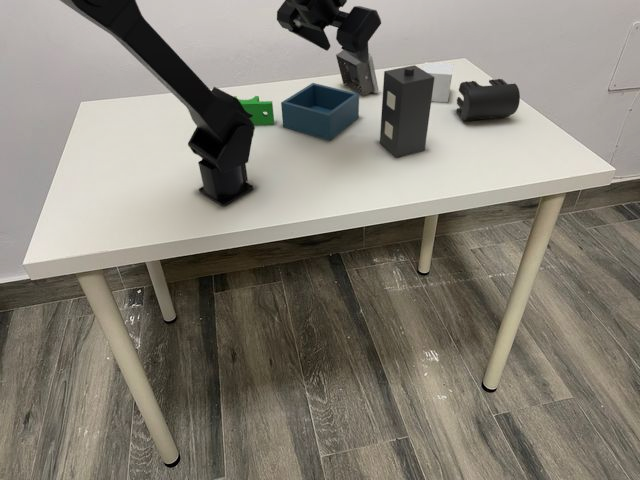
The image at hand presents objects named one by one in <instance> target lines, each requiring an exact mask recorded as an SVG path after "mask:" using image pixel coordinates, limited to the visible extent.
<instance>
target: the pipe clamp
mask: <svg viewBox="0 0 640 480" xmlns="http://www.w3.org/2000/svg"><path fill="white" fill-rule="evenodd" d="M232 96H233V97H235V98H237V99H238V100H239V102H240V103H241V105H242V106H243V108H244V109H245V111H246V112H248V113H250V114H252V115H253V117H251V118H249V119H250V120H251V121H252V122H253V124H254V126H274V125H275V115H274V114H275V113H274V105H273V104H274V103H273V101H272V100H269V101H268V100H265V101H263V100H262V101H261V100H260V96H259V95H254V96H253V97H252V98H250V99H240V98H238V96H237V95H232ZM265 113H267V114H265Z"/></svg>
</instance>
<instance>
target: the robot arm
mask: <svg viewBox="0 0 640 480" xmlns="http://www.w3.org/2000/svg"><path fill="white" fill-rule="evenodd" d="M59 1H60V2H61V3H63V4H64V5H65V6H67V7H69V8H70V9H71V10H73V11H74V12H75V13H77V14H79V15H80V16H82V17H83V18H85V19H86V20H88V21H89V22H91V23H92V24H94V25H96V26H97V27H99V28H100V29H101V30H103V31H104V32H106V33H108V34H109V35H111V36H112V37H113V38H114V39H115V40H116V41H117V42H118V43H119V44H120V45H121V46H123V47H124V49H126V50H127V51H128V52H129V53H130V54H131V55H132V56H133V57H134V58H135V59H136V60H137V61H138V62H139V63H140V64H141V65H142V66H143V67H144V68H145V69H146V70H147V71H148V72H150V74H152V75H153V77H155V78H156V79H157V81H159V82H160V83H161V84H162V85H163V86H164V87H165V88H166V89H167V90H168V91H170V92H171V94H172V95H173V96H174V97H175V98H176V99H178V101H180V103H181V104H183V106H184V107H186V109H187V110H188V113H189V115H190V117H191V120H192V122H193V123H194V124H195V126H196V127H195V129H194V131H193V133H192V135H191V137H190V139H189V141H188V142H187V146H188V147H189V149H190V150H191V152H192V153H193V154H195V155H197V156H198V157H200V158H201V160H199V161H198V163H197V164H198V167H199V172H200V177H201V181H202V187H199V188H198V192H199V194H201V195H203V196H205V197H207V198H208V199H210V200H211V201H213V202H215V203H217V204H218V205H220V206H222V207H226V206H227V205H229V204H231V203H232V202H235V201H237V200H238V199H239V198H241V197H243V196H244V195H246V194H248V193H249V192H251V191H253V190H254V185H253V184H251V183H249V182H248V181H249V178H248V171H247V163H249V160H250V153H251V148H252V143H253V137H254V133H255V130H256V127H255V125H254V124H253V122H252V121H251V120H250V119H249V118H251V117H253V115H252V114H250V113H248V112H246V111H245V109H244V108H243V106H242V105H241V103H240V102H239V100H238V99H239V98H238V97H237V98H238V99H237V98H235V97H233V96H234V95H232V94H229V93H228V92H226V91H224V90H221V89H220V88H218V87H216V86H213V87H212V89H210V88H209V87H208V86H207V85H206V83H205V82H204V81H203V80H202V79H201V78H200V77H199V76H198V75H197V74H196V72H194V70H192V68H191V67H190V66H189V65H188V64H187V63H186V62H185V61H184V60H183V59H182V58H181V57H180V56H179V54H177V52H176V51H175V50H174V49H173V48H172V46H170V45H169V44H168V43H167V41H166V40H165V39H164V38H163V37H162V36H161V35H160V34H159V33H158V32H157V30H156V29H154V28H153V26H152V25H151V24H150V23H149V22H148V21H147V20H146V18H145V17H144V16H143V14H142V12H141V10H140V7H139V5H138V2H137V0H59ZM347 2H348V0H284V1H283V3H282V4H281V5H280V7H279V8H278V9H277V11H276V21H277V22H278V24H279V25H280V27H281V28H283V29H285V30H288V32H289V33H292V34H294V35H296V36H297V37H299V38H302V39H304V40H305V41H307V42H309V43H311V44H313V45H314V46H317V47H319V48H321V49H322V50H324V51H326V52H328V51H329V50H330V49H331V43H330V40H329V38H328V36H327V34H326V32H325V29H326V27H329V26H330V27H334V28H337V29H336V34H335V35H336V36H335V40H336V41H337V43H338V45H340V46H341V48H340V49H341V50H344V51H345V52H347V53H348V54H350V55H351V56H353V57H354V58H356V59H357V60H359V61H360V62H362V63H363V64H366V63H367V61H368V60H369V54H370V52H369V41H370V40H371V38H372V37H373V35H374V34H375V33H376V31H378V29H379V27H380V26H381V25H382V19H381V17H380V15H379V13H378V10H377V9H373V8H368V7H365V6H362V5H355V6H353V7H352V8H351V10H350V11H349V12H346V11H344V10H343V11H342V10H340V8H343V7H344V6H345V5H346V4H347Z"/></svg>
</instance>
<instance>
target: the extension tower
mask: <svg viewBox="0 0 640 480" xmlns="http://www.w3.org/2000/svg"><path fill="white" fill-rule="evenodd" d="M433 85H434V77H433V76H432V75H430V74H428V73H427V72H425V71H423V69H422V68H420V67H418V66H417V65H416V64H415V65H409V66H404V67H403V66H402V67H399V68H393V69H388V70H384V71H383V85H382V101H381V115H380V131H379V132H380V133H379V144H380V145H382V147H384V148H385V149H386V150H387V151H388V152H389V153H390V154H391V155H392V156H394V157H395V159H397V158H400V157H404V156H408V155H412V154H415V153H419V152H423V151H425V150H426V143H427V137H428V136H427V135H428V130H429V129H428V128H429V121H430V114H431V107H432V101H431V100H432V92H433Z"/></svg>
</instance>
